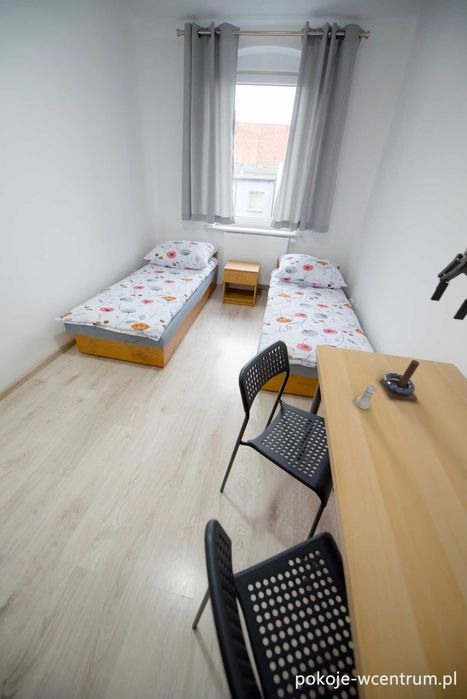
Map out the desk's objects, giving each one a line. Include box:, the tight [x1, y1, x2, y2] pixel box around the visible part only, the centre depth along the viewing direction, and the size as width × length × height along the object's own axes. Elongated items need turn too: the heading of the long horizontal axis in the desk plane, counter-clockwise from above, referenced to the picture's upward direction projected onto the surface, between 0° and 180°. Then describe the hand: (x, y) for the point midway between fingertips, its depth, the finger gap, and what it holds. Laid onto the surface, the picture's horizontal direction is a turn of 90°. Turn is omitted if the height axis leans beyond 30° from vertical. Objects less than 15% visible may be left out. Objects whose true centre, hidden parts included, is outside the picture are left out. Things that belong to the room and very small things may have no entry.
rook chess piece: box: [355, 384, 377, 410], centre depth 90 cm, size 4×4×8 cm
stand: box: [380, 359, 420, 403], centre depth 96 cm, size 9×9×14 cm
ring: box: [382, 372, 416, 395], centre depth 100 cm, size 10×10×2 cm
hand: (445, 309), depth 92 cm, fingers open, 13 cm apart
